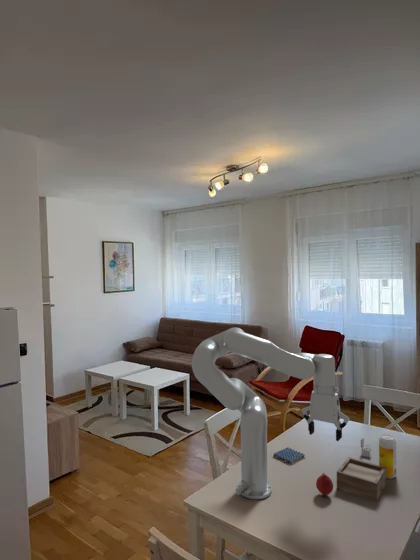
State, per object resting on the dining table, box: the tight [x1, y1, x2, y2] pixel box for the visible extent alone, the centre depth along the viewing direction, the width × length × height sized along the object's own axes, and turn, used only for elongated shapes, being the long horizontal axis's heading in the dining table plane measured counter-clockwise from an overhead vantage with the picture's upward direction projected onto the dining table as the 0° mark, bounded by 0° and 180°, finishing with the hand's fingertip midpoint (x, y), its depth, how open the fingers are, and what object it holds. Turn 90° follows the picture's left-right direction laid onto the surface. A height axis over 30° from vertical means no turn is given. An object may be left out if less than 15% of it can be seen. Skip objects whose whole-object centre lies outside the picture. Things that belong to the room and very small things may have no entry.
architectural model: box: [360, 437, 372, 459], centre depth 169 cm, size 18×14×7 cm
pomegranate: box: [315, 472, 334, 497], centre depth 136 cm, size 6×6×8 cm
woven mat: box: [272, 446, 306, 466], centre depth 165 cm, size 10×11×2 cm
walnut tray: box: [336, 457, 387, 502], centre depth 142 cm, size 14×14×6 cm
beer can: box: [378, 434, 397, 480], centre depth 150 cm, size 6×6×15 cm
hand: (324, 436), depth 137 cm, fingers open, 9 cm apart
